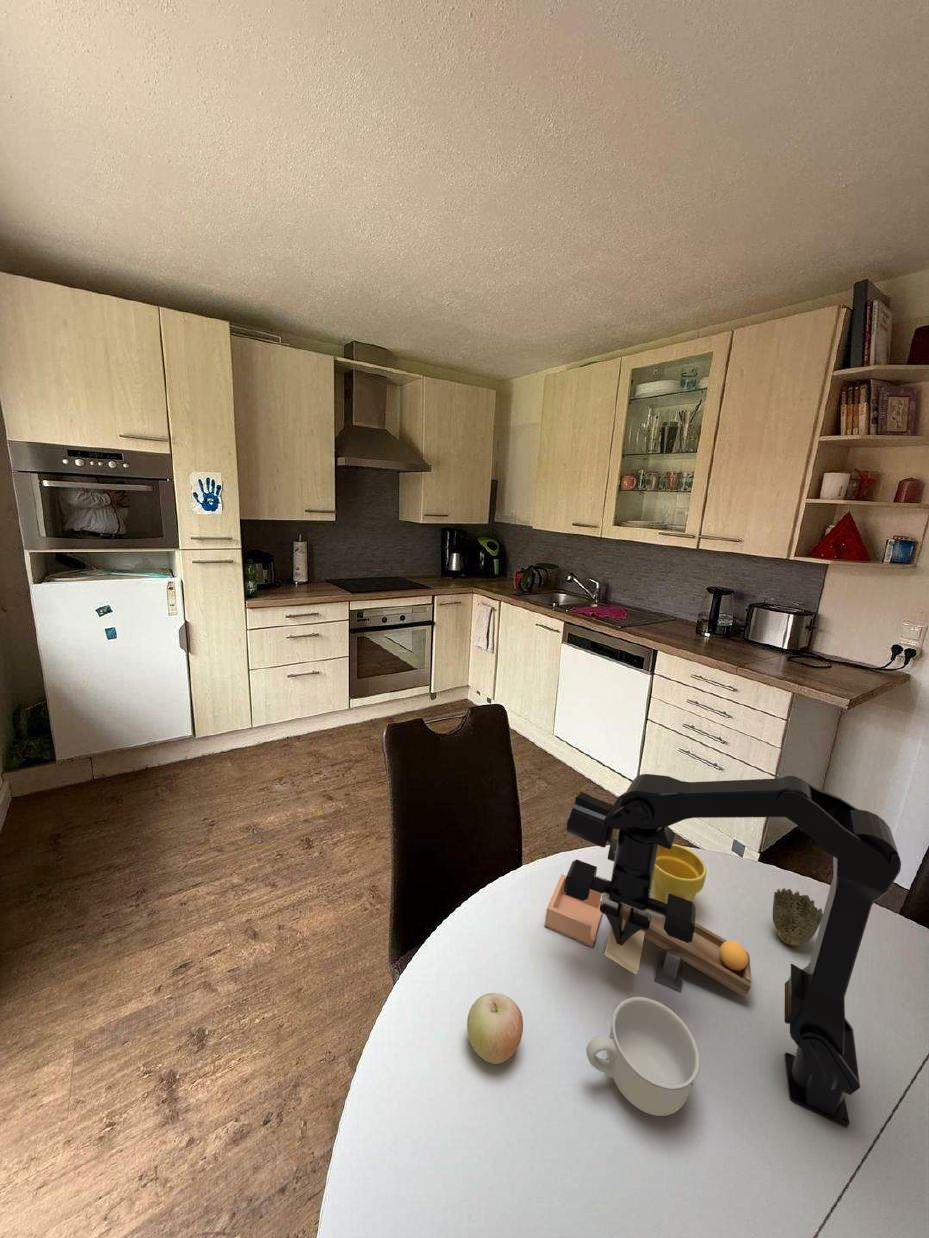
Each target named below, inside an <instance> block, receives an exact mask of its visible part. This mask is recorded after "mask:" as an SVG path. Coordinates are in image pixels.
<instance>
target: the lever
mask: <svg viewBox="0 0 929 1238" xmlns="http://www.w3.org/2000/svg"><path fill="white" fill-rule="evenodd" d="M630 908H631V907H630V906H627V905H625V904H623V922H622V931H623V928H624V925H625V922H626V919H627V916H628V914H629V911H630ZM664 923H665V919H661V918H658V917H656V916H653V915H652V917H651V921H650V927H649V930H643V929H641V930H639V931H638V932H636V933H635V934H633V935H632V936H631V937H630V938H629V939H628V940H627V941H626V942H625V943H624V944H623V945H622V946H621V945H620V944H617V942H616V939H615V936H614V933H613V930H612V927H611V926H610V931H609V935H608V938H607V939H608V940H607V943H606V947H605V951H604V956H605V957H607V958H608V959H610V960H612V961H613V962H615V963H616V964H618V965H620V966H621V967H623V968H624V969H626V970H627V971H628V972H630V973H632V974H634V975H637V973H638V972H639V969H640V962H641V957H642V952H643V951H642V950H643V945H644V940H645V939H646V940H648V941H650V942H652V943H653V944H655V945H656V946H658V947H659V946H660V947H661V948H663V949H665V950H667V949H669V950H671V951H673V952H676V953H678V954H680V959H682V960H683V961H684V963H686V964H688V965H690V966H691V967H694V968H695V969H697V970H699V971H700V972H702V973H703V974H705V975H707V976H708V977H709V978H711V979H714V980H715V981H717V982H718V983H720V984H722V985H723V986H725V987H727V988H729V990H732V991H734V992H735V993H737V994H738V995H741V996H742V997H743V998H744V997H746V996H747V994H748V992H749V991H750V989H751V988H752V987H751V984H752V982H753V981H752V969H751V957H750V953H749V952H748V951H746V953H747V957H748V962H747V965H746V966H745V968H744V969H742V970H732V969H730V968H728V967H727V966H726V965H725V964H724V963H723V961H722V960H721V957H720V947H721V945H722V944H723V943H724V942H725V941H728V940H727V939H726V938H724V937H722V936H720V935H718V934H716V933H714V932H712V931H711V930H709V929H707V927H704V926H703V925H700V923H699V924H698V923H697V922H695V928H694V934H693V939H692V942H689V943H686V942H684V941H681V940H679V939H676V938H674V937H671V936H669V935H668V934H667V933H666V931H665V930H664Z"/></svg>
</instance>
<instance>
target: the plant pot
mask: <svg viewBox="0 0 929 1238" xmlns="http://www.w3.org/2000/svg"><path fill="white" fill-rule="evenodd" d="M706 875H707V867H706V864H705V862H704V861H703V860H702V858H701V857H700V856H699V855H697V854H696V853H695V852H694V851H692V850H690V849H688V848H687V847H685V846H682V845H680V844H676V843H673V845H672V848H671V849H667V848H665V847H662V846H660V845H659V847H658V852H657V858H656V863H655V869H654V874H653V880H652V885H651V890H650V893H652V894H654V899H656V900H658V901H661V902H664V903H666V904H667V898H668V894H672V895H675V896H678V897H680V898H683V899H686V900H688V901H691V902H693V901H694V899H695V897H696V895H697V894H699V893H700V892H701V891H702V890H703V888H704V885H705V882H706V877H707V876H706Z"/></svg>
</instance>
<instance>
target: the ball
mask: <svg viewBox="0 0 929 1238" xmlns="http://www.w3.org/2000/svg"><path fill="white" fill-rule="evenodd" d="M746 952H747V951H746V950H745V948H744V947H743V945H741V944H740V943H739V942H737V941H734V940H727V941H725V942H724V943H723V944H722V945H721V947H720V957H721V960H722V961H723V963H724V964H725V965H726V966H727V967H728V968H730V969H732V970H742V969H744V968H745V966H746V965H747V962H748V957H747V953H746Z"/></svg>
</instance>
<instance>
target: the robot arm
mask: <svg viewBox="0 0 929 1238" xmlns="http://www.w3.org/2000/svg"><path fill="white" fill-rule="evenodd" d="M696 818H697V819H701V818H702V819H705V818H706V819H707V818H708V819H709V818H710V819H711V818H712V819H717V818H723V819H725V818H727V819H729V818H730V819H731V818H732V819H734V818H735V819H736V818H739V819H740V818H745V819H746V818H747V819H748V818H786V819H787V820H789V821H791V822H792V823H794V824H795V825H797V826H798V827H799V828H800V829H801V830H802V831H803V832H804V833H805V834H806V835H807V836H808V837H810V839H812V841H814V842H815V843H816V844H817V845H819V847H820V848H822V850H823V851H825V852H826V853H828V854H829V855H830V856H832V857H833V858H832V862H833V864H832V865H833V866H832V867H833V868H832V869H833V876H832V880H831V883H830V887H829V890H828V894H827V899H826V902H825V905H824V908H823V911H822V913H823V916H822V920H821V923H820V925H819V927H818V931H817V935H816V939H815V942H814V946H813V950H812V953H811V957H810V961H809V963H808V965H806V966H805V967H804V968H800V967H798V966H796V965H794V963H790V976H789V978H788V980H787V981H785V982H784V1012H783V1013H784V1017H783V1018H784V1023H785V1024H788V1025H789V1036H790V1038H791V1040H793V1042H795V1045H796V1046H797V1048H796V1051H795V1054H792V1053H789V1052H788V1051H787V1052H784V1054H783V1057H784V1066H785V1075H786V1081H787V1083H786V1084H787V1089H788V1097H789V1099H790V1100H791V1101H792V1102H794V1103H796V1104H797V1105H800V1106H802V1107H804V1108H806V1109H808V1110H810V1111H813V1112H814V1113H817V1114H819V1115H821V1116H823V1117H825V1118H827V1119H829V1120H831V1121H833V1122H835V1123H837V1124H839V1125H842V1126H844V1127H846V1128H848V1127H849V1126H850V1123H851V1122H850V1118H849V1114H848V1113H849V1112H848V1110H847V1105H846V1104H847V1103H846V1101H845V1095H846V1094H847V1095H851V1096H852V1095H853V1094H854V1093H855V1092H856V1091H858V1090H859V1089H860V1088H861V1082H860V1074H859V1067H858V1066H859V1065H858V1059H857V1058H858V1057H857V1051H856V1049H857V1048H856V1042H855V1041H856V1040H855V1034H854V1028H853V1027H852V1025H851V1023H849V1021H848V1020H847V1018H846V1015H845V1014H846V1011H845V1010H846V1009H845V999H846V994H847V991H848V987H849V984H850V980H851V977H852V973H853V970H854V967H855V964H856V960H857V957H858V954H859V950H860V946H861V943H862V939H863V936H864V934H865V930H866V926H867V923H868V919H869V917H870V913H871V910H872V906H873V905H874V903H875V902H877V900H879V899H880V898H881V897H883V896H885V895H886V894H887V893H888V892H889V890H890V889H891V887H892V885H893V884H894V882H895V880H896V878H897V877H898V876H899V875H900V872H901V867H902V861H901V858H900V855H899V851H898V849H897V846H896V842H895V839H894V836H893V833H892V830H891V827H890V826H889V825H888V823H887V822H886V821H885V820H884V819H883V818H881V817H880V816H879V815H878V814H875V813H874V812H871V811H867V810H865V809H864V810H863V809H859V808H857V807H855V806H854V805H852V804H851V803H849V802H847V801H845V800H844V799H842V798H841V797H839V796H837V795H834V794H832V793H829V792H827V791H825V790H822V789H819V788H816V786H815V787H814V786H813V785H811V784H810V783H808V782H806V781H805V780H804V779H802V778H800V777H798V776H796V775H795V776H794V775H786V776H783V777H779V778H759V779H757V778H755V779H737V780H736V779H735V780H733V779H731V780H713V781H712V780H711V781H684V780H683V781H682V780H679V779H677V778H674V777H672V776H669V775H668V776H667V775H660V774H659V775H658V774H651V773H643V774H639V775H637V776H635V777H634V779H633V780H632V781H631V782H630V785H629V787H628V788H627V789H626V790H625V792H624V793H622V794H620V795H619V796H618V797H617V798H616V800H615V801H614V803H613V804H612V803H610V802H606V801H604V800H601V799H600V798H599V799H598V798H596V797H593V796H592V795H590V794H588V793H586V792H583V791H579V792H578V794H577V796H575V799H574V804H573V807H572V808H571V811H570V814H569V818H567V822H566V832H567V833H568V834H569V835H572V836H574V837H576V838H579V839H581V840H583V841H586V842H589V843H591V844H593V845H595V846H597V847H600V848H606V847H607V843H608V844H610V845H609V849H608V854H607V860H608V861H611V862H613V867H612V872H611V873H612V874H611V878H610V879H611V880H608V879H606V878H604V877H601V876H598V875H597V873H598V867H597V866H595V865H593V864H590V863H587V862H585V861H582V860H580V859H575V860H573V861H572V862H571V863H570V866H569V869H568V871H567V875H565V876H566V880H565V885H564V892H565V894H566V895H568V896H571V897H573V898H576V899H579V900H581V901H584V900H586V899H588V898H589V893H590V889H592V890H594V891H597V892H600V893H602V894H601V900H600V901H601V905H600V912H601V913H602V915H605V917H606V918H607V921H608V922H609V924H610V928H611V927H612V930H613V933H614V936H615V939H616V942H617V944H620V945H621V946H622V945H623V944H624V943H625V942H626V941H627V940H628V939H629V938H630V937H631V936H632V935H633V934H635V933H636V932H638V931H639V930H641V929H643V930H649V927H650V921H651V917H652V915H653V916H656V917H658V918H661V919H665V923H664V930H665V931H666V933H667V934H668V935H669V936H671V937H674V938H676V939H679V940H681V941H684V942H686V943H689V942H692V939H693V934H694V928H695V923H696V908H697V907H696V905H695V903H694V902H693V901H692V902H691V901H688V900H686V899H683V898H680V897H678V896H675V895H672V894H668V898H667V904H666V903H664V902H661V901H658V900H656V899H654V894H652V893H651V885H652V880H653V874H654V869H655V863H656V858H657V852H658V847H659V845H660V846H662V847H665V848H667V849H671V848H672V845H673V844H674V843H675V842H674V841H675V839H676V836H677V835H676V833H675V832H674V831H673V829H671V828H670V827H671V826H672V825H674V824H677V823H679V822H682V821H684V820H689V819H696ZM669 826H670V827H669ZM618 830H619V831H618ZM617 833H618V837H617V838H616V835H617ZM623 904H625V905H627V906H630V907H631V908H630V911H629V914H628V916H627V919H626V922H625V925H624V928H623V931H622V922H623Z"/></svg>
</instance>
